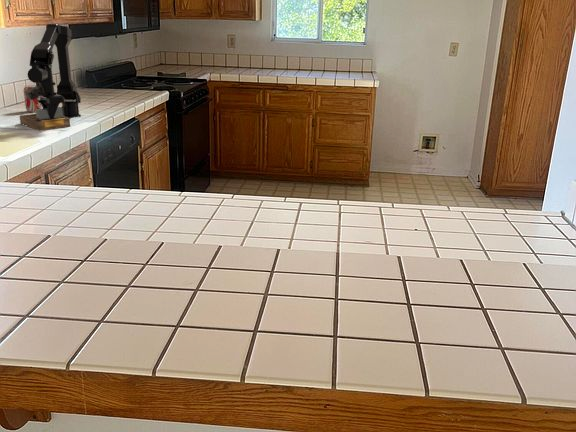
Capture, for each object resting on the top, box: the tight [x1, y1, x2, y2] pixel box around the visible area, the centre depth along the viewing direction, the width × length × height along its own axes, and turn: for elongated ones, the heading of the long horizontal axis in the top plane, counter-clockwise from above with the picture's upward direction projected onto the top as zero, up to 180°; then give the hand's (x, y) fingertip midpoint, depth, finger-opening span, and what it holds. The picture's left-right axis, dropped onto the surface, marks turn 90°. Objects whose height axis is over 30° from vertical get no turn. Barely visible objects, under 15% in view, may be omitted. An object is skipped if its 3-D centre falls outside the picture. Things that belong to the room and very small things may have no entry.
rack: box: [19, 113, 71, 131], centre depth 241 cm, size 14×18×4 cm
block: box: [34, 106, 63, 121], centre depth 236 cm, size 10×3×7 cm, turn 135°
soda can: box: [23, 84, 43, 113], centre depth 269 cm, size 7×7×12 cm
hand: (50, 117), depth 236 cm, fingers open, 4 cm apart
